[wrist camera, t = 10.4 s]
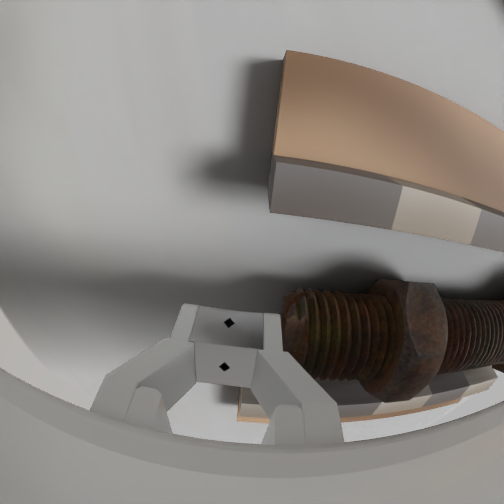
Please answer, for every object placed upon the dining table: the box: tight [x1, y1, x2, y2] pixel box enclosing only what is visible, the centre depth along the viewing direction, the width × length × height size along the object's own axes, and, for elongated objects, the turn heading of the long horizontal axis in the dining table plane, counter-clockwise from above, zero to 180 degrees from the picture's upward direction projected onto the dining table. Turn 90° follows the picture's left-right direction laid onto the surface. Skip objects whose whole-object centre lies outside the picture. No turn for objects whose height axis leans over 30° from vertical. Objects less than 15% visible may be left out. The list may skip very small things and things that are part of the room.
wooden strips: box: [237, 50, 504, 423], centre depth 10 cm, size 16×16×2 cm
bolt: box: [280, 279, 504, 403], centre depth 9 cm, size 6×5×15 cm
